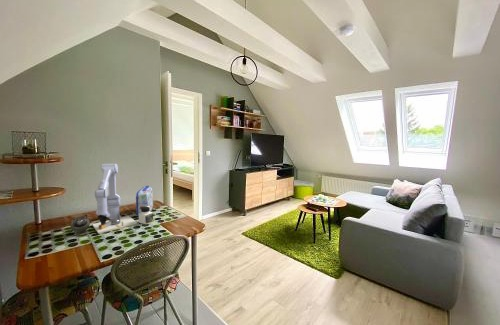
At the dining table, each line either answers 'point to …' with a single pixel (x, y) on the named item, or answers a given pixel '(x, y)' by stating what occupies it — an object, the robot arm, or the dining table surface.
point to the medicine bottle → (145, 215)
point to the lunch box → (144, 199)
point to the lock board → (123, 223)
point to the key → (110, 223)
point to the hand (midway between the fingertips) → (103, 224)
